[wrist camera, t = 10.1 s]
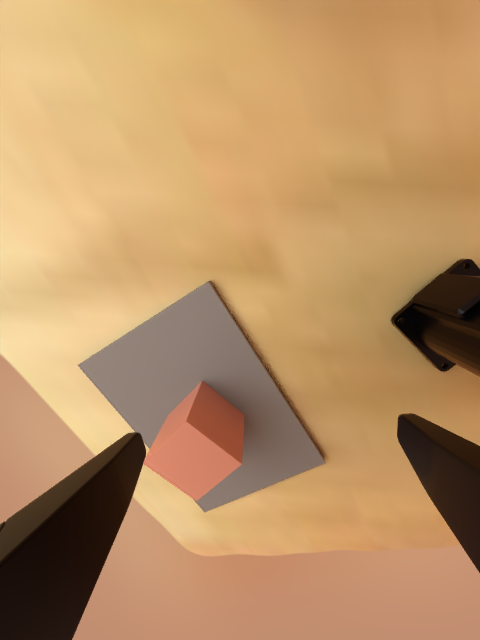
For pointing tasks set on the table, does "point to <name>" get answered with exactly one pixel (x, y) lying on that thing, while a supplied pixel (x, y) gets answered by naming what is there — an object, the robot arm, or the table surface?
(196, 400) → the block
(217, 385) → the mat
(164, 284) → the table surface
